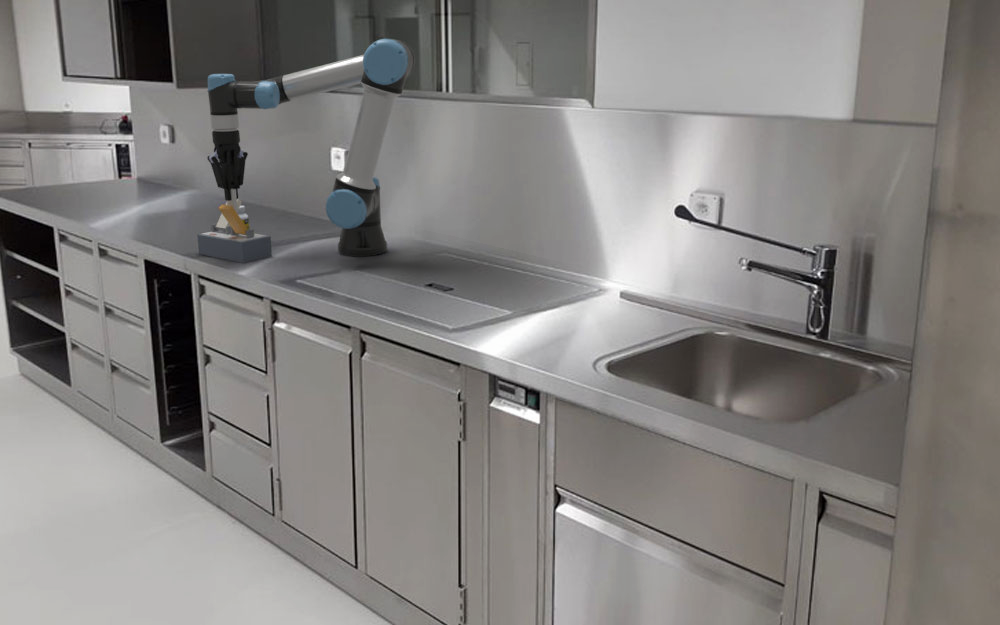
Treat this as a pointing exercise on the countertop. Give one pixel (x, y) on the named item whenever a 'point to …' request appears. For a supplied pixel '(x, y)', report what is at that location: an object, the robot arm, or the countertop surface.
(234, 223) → the orange lever
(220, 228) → the ivory lever
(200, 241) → the breaker panel
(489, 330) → the countertop surface
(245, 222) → the pill bottle
